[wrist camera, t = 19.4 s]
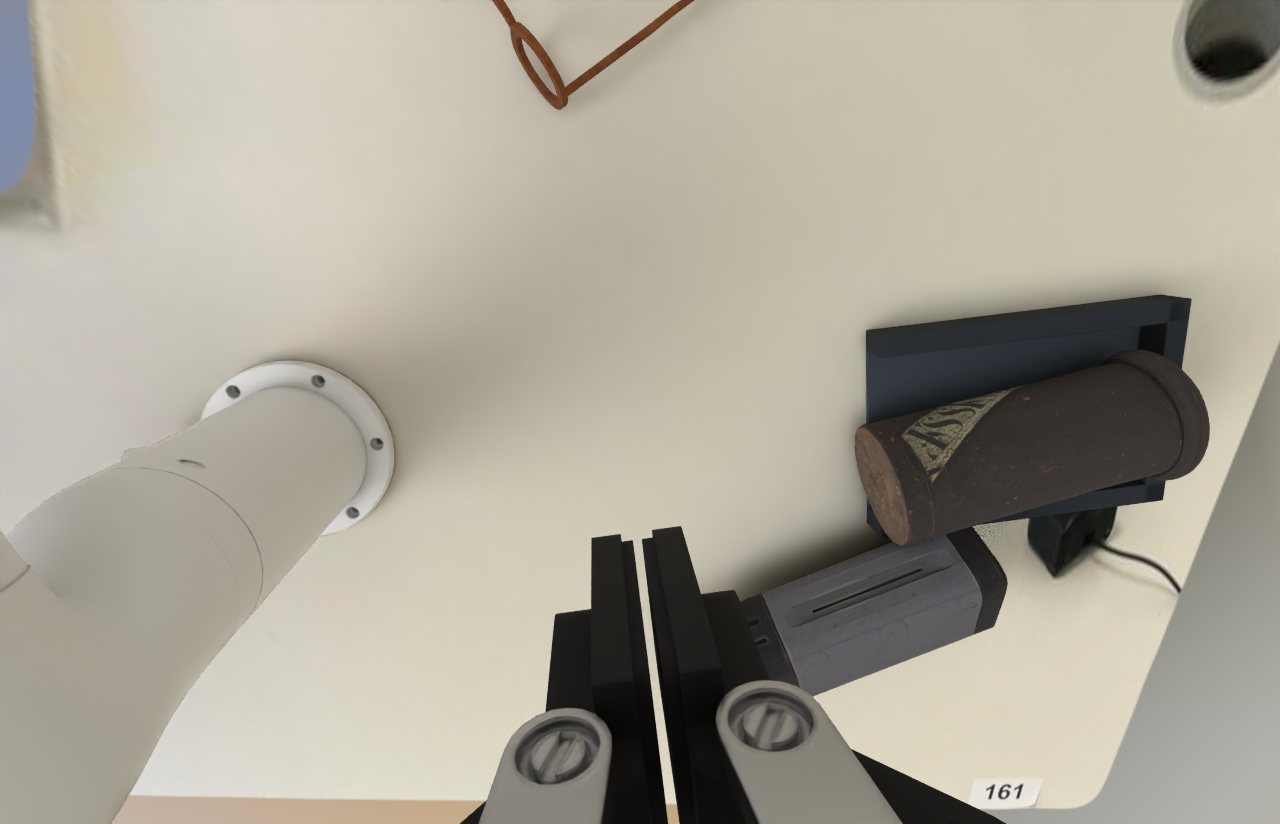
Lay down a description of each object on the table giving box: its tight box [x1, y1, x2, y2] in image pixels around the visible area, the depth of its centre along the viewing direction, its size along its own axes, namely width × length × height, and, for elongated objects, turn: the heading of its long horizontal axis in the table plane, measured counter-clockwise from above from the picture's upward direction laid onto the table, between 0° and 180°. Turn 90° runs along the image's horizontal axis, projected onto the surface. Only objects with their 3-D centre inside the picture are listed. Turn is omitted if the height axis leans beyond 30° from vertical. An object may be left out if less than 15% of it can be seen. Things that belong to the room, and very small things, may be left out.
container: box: [855, 349, 1210, 546], centre depth 43 cm, size 9×9×20 cm
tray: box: [866, 295, 1192, 538], centre depth 46 cm, size 22×15×2 cm
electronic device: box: [740, 527, 1008, 696], centre depth 47 cm, size 9×6×20 cm
